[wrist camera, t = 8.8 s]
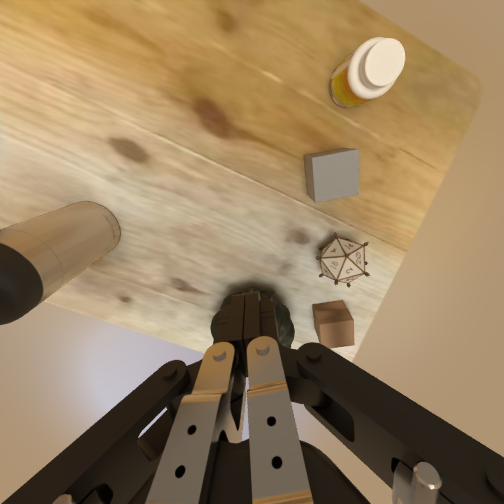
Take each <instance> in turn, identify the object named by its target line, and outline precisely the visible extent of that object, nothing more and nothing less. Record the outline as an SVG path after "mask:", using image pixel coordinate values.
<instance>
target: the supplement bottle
mask: <svg viewBox="0 0 504 504" xmlns="http://www.w3.org/2000/svg"><path fill="white" fill-rule="evenodd" d="M404 62H405V52H404V48H403V46H402V45H401V43H400V42H399V41H397V40H396V39H392V38H383V37H377V38H372V39H370V40H368V41H366V42H365V43H363V44H362V45H361V46H359V47H358V48H357V49H356V50H355V51H354V52H353V53H352V54H351V55H350V56H348V57H347V58H346V59H345V60H344V61H343V62H342V63H341V64H340V65H339V66H338V67H337V68H336V70H335V71H334V73H333V75H332V77H331V81H330V94H331V97H332V99H333V100H334V102H335V103H336V104H338V105H339V106H342V107H353V106H356V105H358V104H361V103H364V102H366V101H369V100H372V99H374V98H377V97H379V96H381V95H383V94H384V93H385V92H387V91H388V90H389V89H390V88H391V86H392V85H393V84H394V82H395V80H396V78H397V77H398V76H399V74H400V73H401V71H402V69H403V66H404Z"/></svg>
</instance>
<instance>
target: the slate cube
mask: <svg viewBox="0 0 504 504" xmlns="http://www.w3.org/2000/svg"><path fill="white" fill-rule="evenodd" d="M304 164H305V175H306V187H307V195H308V196H309V197H310V198H311V199H312V200H313V201H314V202H321V201H327V200H333V199H338V198H344V197H350V196H356V195H359V149H349V148H341V149H336V150H331V151H326V152H320V153H315V154H310V155H305V156H304Z"/></svg>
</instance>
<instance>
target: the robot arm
mask: <svg viewBox="0 0 504 504" xmlns="http://www.w3.org/2000/svg"><path fill="white" fill-rule="evenodd" d="M119 239H120V228H119V225H118V222H117V221H116V219H115V217H114V216H113V215H112V214H111V213H110V212H109V211H108V210H107V209H106V208H104V207H103V206H101V205H99V204H96V203H93V202H79V203H76V204H73V205H70V206H67V207H64V208H61V209H58V210H55V211H52V212H49V213H47V214H44V215H41V216H38V217H35V218H32V219H29V220H26V221H23V222H21V223H18V224H15V225H12V226H9V227H6V228H3V229H0V325H3V324H7V323H10V322H13V321H15V320H17V319H19V318H21V317H22V316H24V315H25V314H26V313H28V312H29V311H30V310H32V309H33V308H34V307H36V306H37V305H38V304H40V303H41V302H42V301H44V300H45V299H46V298H48V297H49V296H50V295H52V294H53V293H54V292H56V291H57V290H58V289H59V288H61V287H62V286H63V285H65V284H66V283H67V282H69V281H70V280H71V279H73V278H74V277H75V276H77V275H78V274H79V273H81V272H82V271H83V270H85V269H86V268H87V267H89V266H90V265H91V264H93V263H94V262H95V261H97V260H98V259H99V258H101V257H102V256H103V255H105V254H106V253H107V252H109V251H110V250H111V249H113V248H114V247H115V246H116V245H117V243H118V241H119ZM246 377H248V378H249V390H247V404H248V423H249V439H247V440H245V441H242V430H243V421H244V412H245V401H246V388H245V385H246ZM291 402H296V403H300V404H304V406H305V408H306V409H307V410H308V411H309V412H310V413H311V414H312V415H313V416H314V417H315V418H316V419H317V420H318V421H319V422H321V424H323V425H324V426H325V427H326V428H327V429H328V430H329V431H330V432H331V433H332V434H333V435H334V436H336V438H338V439H339V440H340V441H341V442H342V443H343V444H344V445H345V446H346V447H347V448H348V449H350V450H351V451H352V452H353V453H354V454H355V455H356V456H357V457H358V458H359V459H360V460H361V461H362V462H363V463H364V464H366V465H367V466H368V467H369V468H370V469H371V470H372V471H373V472H374V473H375V474H376V475H378V477H380V478H381V479H382V480H383V481H384V482H385V483H386V484H387V485H388V486H389V487H390V488H391V489H392V502H393V504H504V457H502V456H501V455H499V454H497V453H496V452H494V451H492V450H491V449H489V448H488V447H486V446H485V445H483V444H481V443H480V442H478V441H476V440H475V439H473V438H472V437H470V436H468V435H467V434H465V433H464V432H462V431H460V430H459V429H457V428H456V427H454V426H452V425H451V424H449V423H448V422H446V421H444V420H443V419H441V418H440V417H438V416H436V415H435V414H433V413H432V412H430V411H428V410H427V409H425V408H424V407H422V406H420V405H418V404H417V403H416V402H414V401H412V400H411V399H409V398H408V397H406V396H404V395H403V394H401V393H400V392H398V391H396V390H395V389H393V388H391V387H390V386H388V385H387V384H385V383H384V382H382V381H380V380H379V379H377V378H375V377H374V376H372V375H371V374H369V373H367V372H366V371H364V370H363V369H361V368H359V367H358V366H356V365H355V364H353V363H351V362H350V361H348V360H347V359H345V358H343V357H342V356H340V355H339V354H337V353H335V352H334V351H332V350H331V349H329V348H327V347H326V346H324V345H322V344H320V343H314V342H311V343H306V344H304V345H302V346H301V347H300V348H299V349H298V350H296V349H290V348H287V347H285V346H283V345H282V344H281V343H280V342H279V334H278V326H277V320H276V315H275V309H274V304H273V303H272V301H271V300H270V299H264V300H261V299H260V294H259V291H256V292H250V293H246V294H245V293H244V294H237V295H232V301H231V305H224V307H223V308H222V309H221V311H220V312H219V317H218V322H217V327H216V332H215V337H214V342H213V345H212V346H211V347H209V348H208V349H207V351H206V352H205V354H204V357H203V359H202V360H200V361H198V362H196V363H193V364H191V365H188V366H186V364H185V363H184V362H183V361H180V360H173V361H170V362H168V363H166V364H164V365H163V366H161V367H160V368H159V369H158V370H157V371H156V372H154V373H153V374H152V375H151V376H150V377H149V378H147V379H146V380H145V381H144V382H143V383H142V384H141V385H139V386H138V387H137V388H136V389H135V390H133V391H132V392H131V393H130V394H129V395H128V396H126V397H125V398H124V399H123V400H122V401H121V402H119V403H118V404H117V405H116V406H115V407H114V408H112V409H111V410H110V411H109V412H108V413H107V414H106V415H104V416H103V417H102V418H101V419H100V420H98V421H97V422H96V423H95V424H94V425H93V426H91V427H90V428H89V429H88V430H87V431H86V432H84V433H83V434H82V435H81V436H80V437H79V438H78V439H76V440H75V441H74V442H73V443H72V444H71V445H69V446H68V447H67V448H66V449H65V450H63V451H62V452H61V453H60V454H59V455H58V456H56V457H55V458H54V459H53V460H52V461H51V462H49V463H48V464H47V465H46V466H45V467H44V468H42V470H40V471H39V472H38V473H37V474H35V475H34V476H33V477H32V478H31V479H30V480H29V481H27V482H26V483H25V484H24V485H23V486H21V487H20V488H19V489H18V490H17V491H16V492H14V493H13V494H12V495H11V496H10V497H9V498H8V499H6V500H5V501H4V502H3V503H2V504H370V502H369V501H368V500H367V499H366V498H365V497H364V496H363V495H362V493H361V492H360V491H359V490H358V489H357V488H356V487H355V486H354V485H353V484H352V483H351V482H350V480H349V479H348V478H347V477H346V476H345V475H344V474H343V473H342V472H341V470H340V469H339V468H338V467H337V466H336V465H335V464H334V463H333V462H332V461H331V460H330V459H329V458H328V457H327V456H326V455H325V454H324V453H322V451H320V450H319V449H317V448H316V447H314V446H313V445H311V444H309V443H307V442H304V441H301V440H299V436H298V432H297V428H296V423H295V418H294V414H293V409H292V405H291ZM165 407H166V408H167V410H166V411H165V413H163V415H162V416H161V417H160V418H159V419H158V420H157V421H156V422H155V423H154V424H153V425H152V426H151V427H150V428H149V429H148V430H147V431H146V432H145V433H144V434H143V435H142V436H141V437H139V435H140V433H141V432H142V430H143V429H144V428H145V427H146V426H147V425H148V424H149V423H150V422H151V421H152V420H153V419H154V418H155V417H156V416H157V415H158V414H159V413H160V412H161V411H162V410H163V409H164V408H165ZM138 437H139V438H138Z"/></svg>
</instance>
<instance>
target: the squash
mask: <svg viewBox="0 0 504 504" xmlns="http://www.w3.org/2000/svg"><path fill="white" fill-rule="evenodd" d="M256 291H259V290H258V289H256V288H254V287H250V288H248V289H247V290H245V291H244V292H243V293H242V294H244V293H245V294H246V293H250V292H256ZM259 294H260V299H261V300H264V299H270V300H271V301H272V303H273V304H274V309H275V315H276V320H277V326H278V334H279V342H280V343H281V344H282V345H283V346H285V347H287V348H290V349H291V344H292V342H293V339H294V333H295V330H294V325H293V323H292V321H291V319H290V312H289V310H288V308H287V307H286V306H285V305H283V304H281V302H280V300H279V298H278V297H277V295H276V294H275V292H273V291H270V290H269V291H264V292H262V293H261V292H260V291H259ZM232 295H237V294H232ZM232 295H229V296H227V297H226V298H225V299H224V301H223V304H222V306H221V309H222V308H223V307H224V305H231V301H232ZM220 311H221V310H220ZM220 311H219V312H220ZM219 312H218V313H216V314H215V316H214V317H213V319H212V323H211V333H212V336H213V338H214V337H215V332H216V327H217V322H218V317H219Z"/></svg>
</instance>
